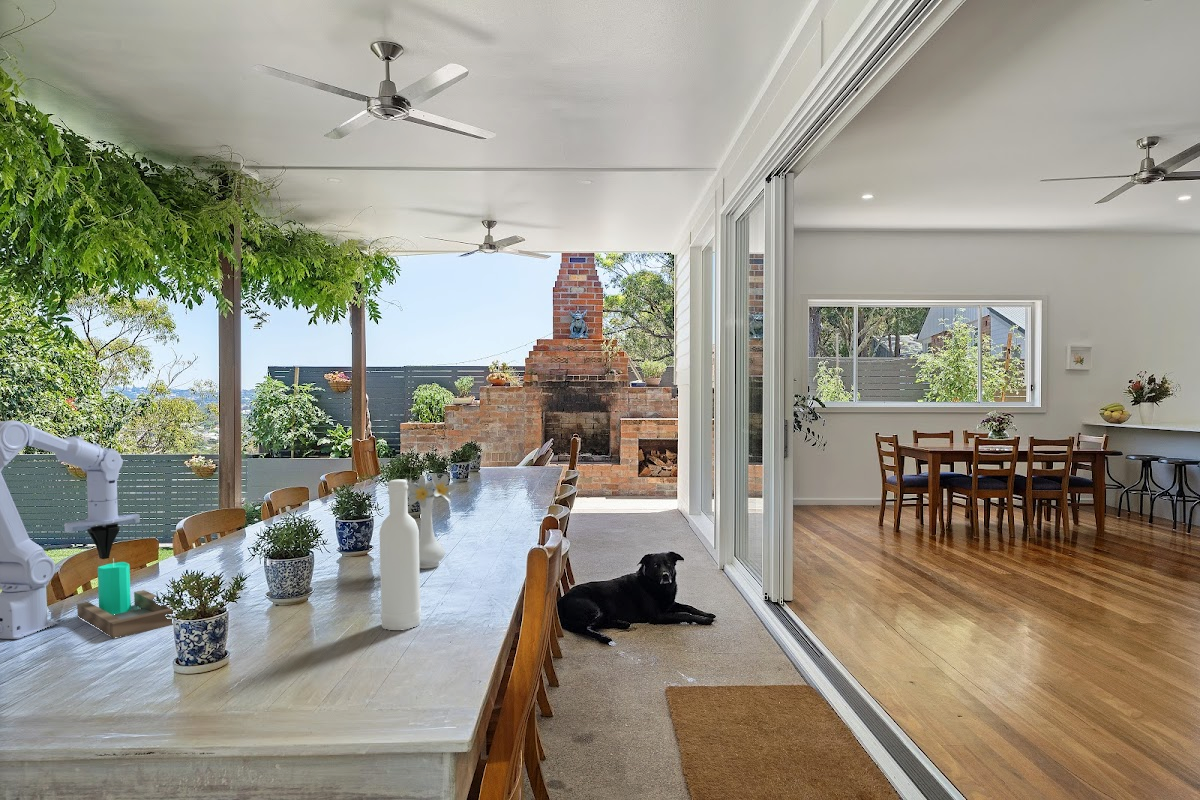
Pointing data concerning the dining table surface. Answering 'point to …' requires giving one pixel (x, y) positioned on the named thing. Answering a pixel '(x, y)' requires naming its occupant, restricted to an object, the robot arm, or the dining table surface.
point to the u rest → (127, 616)
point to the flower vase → (428, 516)
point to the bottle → (399, 563)
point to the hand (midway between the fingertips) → (104, 558)
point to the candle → (114, 587)
